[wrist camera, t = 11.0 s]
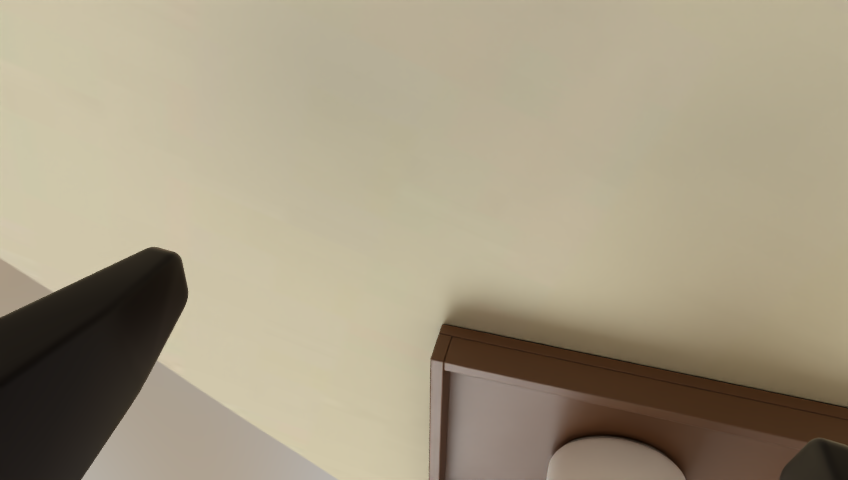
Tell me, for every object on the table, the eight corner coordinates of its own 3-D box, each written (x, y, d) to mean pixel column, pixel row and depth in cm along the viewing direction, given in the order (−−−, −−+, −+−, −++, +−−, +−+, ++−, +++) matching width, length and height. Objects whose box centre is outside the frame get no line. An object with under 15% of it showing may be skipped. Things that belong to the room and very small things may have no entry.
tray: (863, 410, 25) (877, 457, 23) (737, 570, 35) (741, 611, 33) (442, 323, 28) (430, 359, 27) (436, 491, 38) (427, 524, 36)
